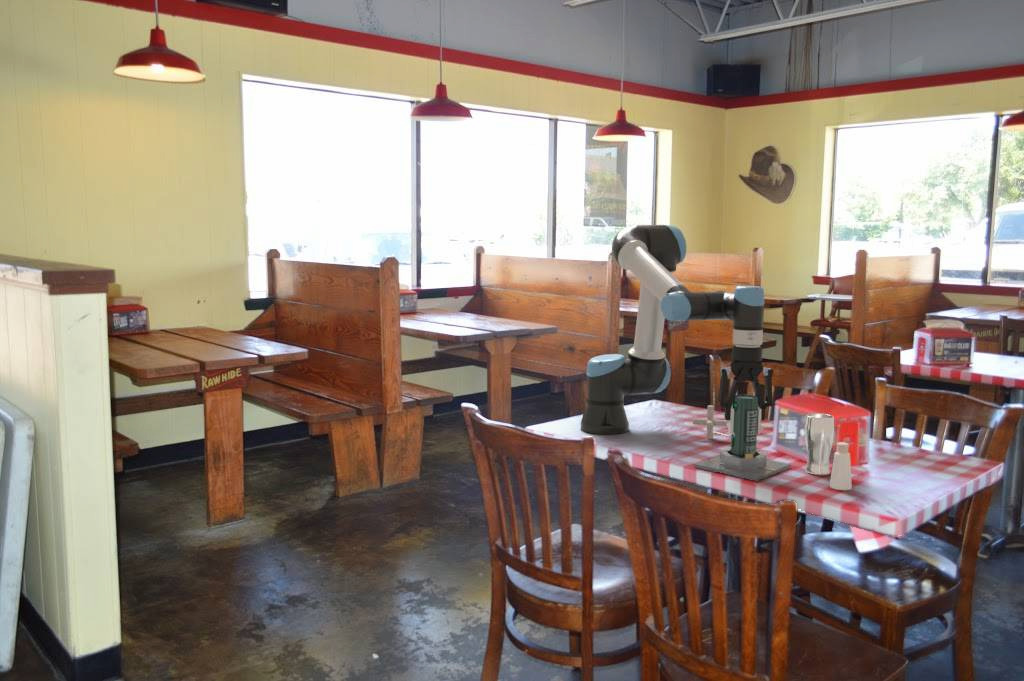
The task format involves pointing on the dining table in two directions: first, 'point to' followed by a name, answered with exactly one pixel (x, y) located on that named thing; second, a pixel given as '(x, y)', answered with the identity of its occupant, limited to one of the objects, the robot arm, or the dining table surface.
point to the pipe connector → (710, 422)
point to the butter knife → (719, 433)
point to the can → (744, 424)
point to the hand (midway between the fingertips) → (744, 432)
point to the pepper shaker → (841, 468)
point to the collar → (743, 465)
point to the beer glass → (819, 442)
